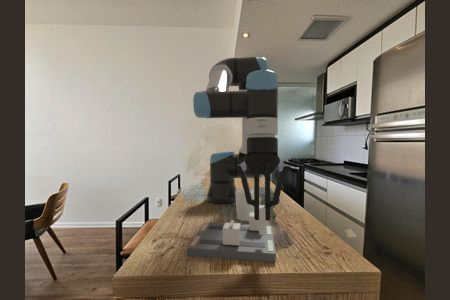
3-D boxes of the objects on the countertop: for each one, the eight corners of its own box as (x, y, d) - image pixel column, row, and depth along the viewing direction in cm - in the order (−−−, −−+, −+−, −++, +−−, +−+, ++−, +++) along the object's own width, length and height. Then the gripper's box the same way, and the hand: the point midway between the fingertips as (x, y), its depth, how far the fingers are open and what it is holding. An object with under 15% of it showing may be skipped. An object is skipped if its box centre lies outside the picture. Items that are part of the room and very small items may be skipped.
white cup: (256, 222, 79) (256, 193, 79) (233, 221, 80) (233, 192, 80) (257, 215, 87) (257, 189, 86) (237, 214, 88) (236, 188, 88)
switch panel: (204, 228, 74) (204, 222, 73) (271, 232, 70) (271, 225, 70) (186, 256, 56) (186, 247, 56) (275, 262, 53) (275, 253, 53)
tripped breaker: (225, 237, 60) (225, 220, 60) (240, 238, 60) (240, 220, 60) (222, 244, 56) (222, 225, 56) (239, 245, 56) (239, 226, 56)
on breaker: (250, 225, 69) (250, 210, 69) (263, 225, 69) (263, 210, 69) (249, 230, 65) (249, 214, 65) (263, 231, 65) (263, 214, 64)
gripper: (233, 136, 53) (234, 237, 54) (291, 135, 51) (291, 240, 52) (236, 137, 61) (237, 226, 61) (287, 137, 59) (287, 228, 59)
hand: (262, 232), depth 57 cm, fingers closed
